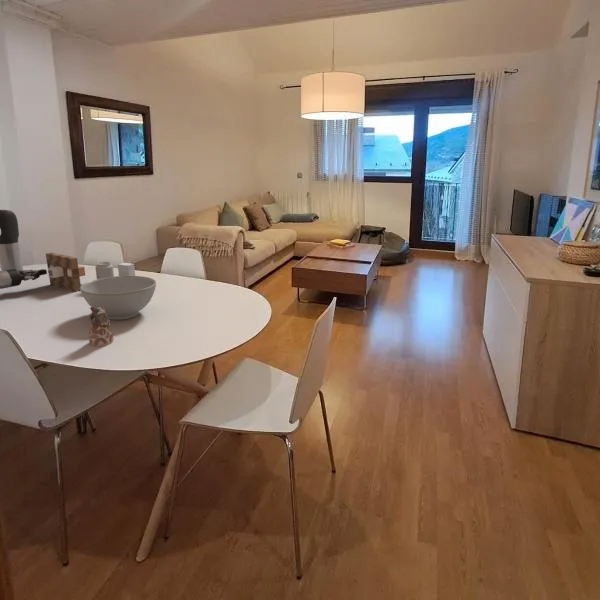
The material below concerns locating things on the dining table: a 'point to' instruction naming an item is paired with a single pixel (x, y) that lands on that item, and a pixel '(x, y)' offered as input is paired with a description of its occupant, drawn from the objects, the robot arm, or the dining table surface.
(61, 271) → the key ivory
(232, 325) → the dining table surface
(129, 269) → the skincare box
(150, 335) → the dining table surface
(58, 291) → the dining table surface
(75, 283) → the key panel
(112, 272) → the can
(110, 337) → the figurine
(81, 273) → the key terracotta
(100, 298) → the decorative bowl
